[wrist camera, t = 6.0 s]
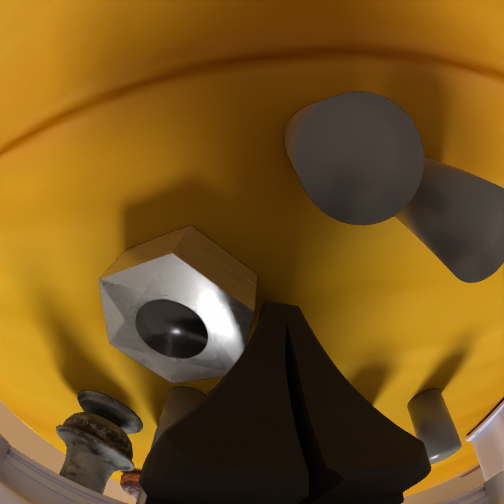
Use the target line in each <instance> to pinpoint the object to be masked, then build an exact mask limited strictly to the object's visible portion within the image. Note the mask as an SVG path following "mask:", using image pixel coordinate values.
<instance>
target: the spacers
mask: <svg viewBox="0 0 504 504" xmlns="http://www.w3.org/2000/svg"><path fill="white" fill-rule="evenodd" d="M284 145H285V150H286V152H287V155H288V157H289V159H290V161H291V163H292V165H293V167H294V169H295V171H296V173H297V175H298V177H299V179H300V181H301V183H302V186H303V188H304V189H305V191H306V193H307V195H308V196H309V198H310V199H311V200H312V202H313V203H314V204H315V205H316V206H317V207H318V208H319V209H320V210H321V211H323V212H324V213H325V214H327V215H328V216H330V217H332V218H334V219H336V220H338V221H340V222H344V223H347V224H353V225H370V224H375V223H379V222H382V221H385V220H387V219H389V218H391V217H393V216H395V217H396V218H397V219H399V220H400V221H401V222H402V223H403V224H404V225H405V226H406V227H407V228H408V229H409V230H410V231H412V232H413V233H414V234H415V235H416V236H417V237H418V238H419V239H420V240H421V241H422V242H423V243H424V244H425V245H426V246H427V247H428V248H429V249H430V250H431V251H432V252H433V253H434V254H435V255H436V256H437V257H438V258H439V259H440V260H441V261H442V262H443V263H444V264H445V265H446V266H447V268H448V269H449V270H450V271H451V272H452V273H453V274H454V275H455V276H456V277H457V278H458V279H460V280H461V281H464V282H468V283H475V282H479V281H482V280H484V279H486V278H488V277H489V276H491V275H492V274H493V273H494V272H496V271H497V270H498V269H499V267H500V266H501V265H502V264H503V263H504V188H502V187H500V186H498V185H496V184H493V183H491V182H489V181H487V180H484V179H482V178H480V177H477V176H475V175H473V174H470V173H468V172H465V171H463V170H460V169H458V168H455V167H453V166H450V165H447V164H445V163H442V162H439V161H436V160H433V159H431V158H428V157H425V156H424V150H423V144H422V140H421V137H420V134H419V132H418V130H417V128H416V126H415V124H414V122H413V121H412V119H411V118H410V117H409V115H408V114H407V113H406V112H405V111H404V110H403V109H402V108H401V107H400V106H398V105H397V104H396V103H394V102H393V101H391V100H389V99H388V98H386V97H383V96H381V95H378V94H374V93H371V92H363V91H358V92H348V93H343V94H340V95H337V96H334V97H331V98H328V99H325V100H322V101H319V102H316V103H313V104H311V105H308V106H305V107H303V108H301V109H300V110H298V111H297V112H296V113H295V114H294V115H293V116H292V117H291V118H290V120H289V122H288V123H287V126H286V128H285V132H284ZM205 397H206V396H205V395H204V394H203V393H201V392H199V391H197V390H195V389H192V388H188V387H175V388H172V389H170V390H169V392H168V395H167V398H166V401H165V404H164V408H163V411H162V414H161V417H160V420H159V423H158V427H157V430H156V433H155V437H154V440H153V443H152V446H151V449H152V447H153V446H154V444H155V443H156V442H157V440H158V439H159V438H160V436H161V435H162V434H163V432H164V431H165V430H166V429H167V428H169V427H170V426H171V425H173V424H174V423H175V422H177V421H178V420H179V419H181V418H182V417H183V416H185V415H186V414H187V413H188V412H190V411H191V410H192V409H193V408H194V407H195V406H196V405H197V404H198V403H200V402H201V401H202V400H203V399H204V398H205ZM408 411H409V414H410V417H411V420H412V423H413V426H414V430H415V433H416V436H417V438H418V439H419V440H421V441H422V442H424V445H425V447H426V451H427V454H428V458H429V461H430V464H434V463H437V462H439V461H441V460H444V459H446V458H447V457H449V456H451V455H452V454H454V453H455V452H456V451H458V450H459V449H460V448H461V446H462V445H461V442H460V439H459V437H458V434H457V431H456V429H455V426H454V423H453V421H452V418H451V416H450V413H449V411H448V408H447V406H446V404H445V401H444V399H443V397H442V394H441V392H440V390H439V389H430V390H427V391H424V392H422V393H420V394H419V395H417V396H416V397H414V398H413V399H412V400H411V401H410V402H409V404H408Z"/></svg>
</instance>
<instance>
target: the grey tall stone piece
mask: <svg viewBox="0 0 504 504" xmlns="http://www.w3.org/2000/svg"><path fill="white" fill-rule="evenodd" d="M77 399H78V402H79V404H80V406H81V407H82V409H83V411H84V412H80V413H75V414H73V415H72V416H70V417H69V418H68V419H66V420H65V422H64V424H63V425H59V426H57V427H56V432H57V434H58V435H59V437H60V438H61V439H62V440H63V441H64V442H65V444H66V447H67V452H66V458H65V462H64V465H63V467H62V469H61V472H60V474H59V475H61V476H63V477H65V478H67V479H69V480H71V481H73V482H75V483H77V484H79V485H81V486H84V487H86V488H88V489H91V490H93V491H95V492H98V493H100V494H103V492H104V489H105V485H106V483H107V481H108V479H109V477H110V476H111V475H112V473H113V472H114V471H118V470H122V471H131V470H133V469H134V463H133V462H132V458H133V451H132V443H131V441H130V439H129V438H128V436H127V434H131V433H137V432H140V431H141V430H142V428H143V423H142V421H141V419H140V418H139V417H138V416H137V415H136V414H135V413H134V412H133V411H132V410H131V409H129V408H128V407H126V406H125V405H123V404H122V403H120V402H119V401H117V400H115V399H113V398H111V397H109V396H106V395H104V394H102V393H98V392H95V391H88V390H86V391H81V392H80V393H79V394H78V398H77Z"/></svg>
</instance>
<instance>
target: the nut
mask: <svg viewBox="0 0 504 504" xmlns="http://www.w3.org/2000/svg"><path fill="white" fill-rule="evenodd" d="M99 285H100V293H101V299H102V306H103V312H104V318H105V323H106V328H107V334H108V339H109V343H110V344H111V345H113V346H114V347H116V348H117V349H119V350H120V351H122V352H123V353H125V354H126V355H128V356H129V357H131V358H132V359H134V360H135V361H137V362H138V363H140V364H141V365H143V366H145V367H146V368H148V369H149V370H151V371H153V372H154V373H156V374H158V375H159V376H161V377H163V378H164V379H166V380H168V381H170V382H171V383H178V382H186V381H194V380H202V379H209V378H216V377H222V376H225V375H226V374H227V373H228V372H229V371H230V369H231V368H232V367H233V365H234V364H235V363H236V361H237V360H238V358H239V357H240V355H241V354H242V352H243V351H244V349H245V347H246V346H247V342H248V338H249V333H250V329H251V324H252V320H253V315H254V310H255V298H256V286H257V274H256V273H254V272H253V271H251V270H250V269H249V268H247V267H246V266H245V265H243V264H242V263H241V262H239V261H238V260H237V259H235V258H234V257H233V256H231V255H230V254H229V253H227V252H226V251H225V250H223V249H222V248H221V247H220V246H218V245H217V244H216V243H214V242H213V241H212V240H210V239H209V238H208V237H206V236H205V235H204V234H202V233H201V232H200V231H198V230H197V229H196V228H194V227H193V226H192V225H190V226H187V227H184V228H182V229H179V230H176V231H174V232H171V233H168V234H166V235H163V236H160V237H158V238H155V239H153V240H150V241H148V242H145V243H142V244H140V245H137V246H135V247H132V248H130V249H127V250H125V251H124V252H123V253H122V254H121V255H120V257H119V258H118V259H117V260H116V261H115V262H114V263H113V264H112V265H111V266H110V267H109V268H108V270H107V271H106V272H105V273H104V274H103V275H102V276H101V277H100V278H99Z"/></svg>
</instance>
